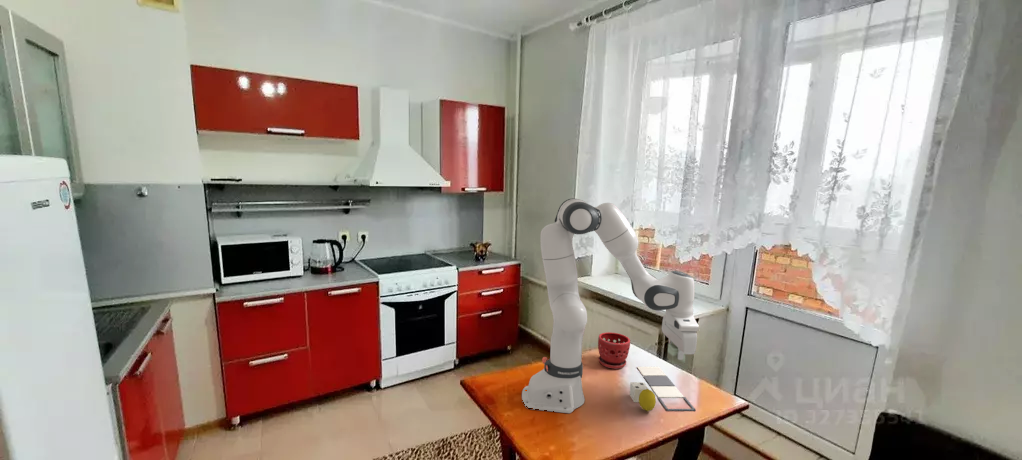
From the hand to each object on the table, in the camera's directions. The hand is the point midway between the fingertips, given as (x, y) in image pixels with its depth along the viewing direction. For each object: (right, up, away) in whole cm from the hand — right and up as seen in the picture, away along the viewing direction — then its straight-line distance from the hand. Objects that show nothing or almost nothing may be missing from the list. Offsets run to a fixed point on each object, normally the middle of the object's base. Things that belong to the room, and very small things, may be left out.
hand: (676, 355), depth 144 cm
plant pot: (-15, -13, +30) cm, 36 cm away
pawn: (0, -2, 0) cm, 2 cm away
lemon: (-12, -18, -5) cm, 22 cm away
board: (0, -16, +11) cm, 19 cm away
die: (-12, -17, +3) cm, 21 cm away
